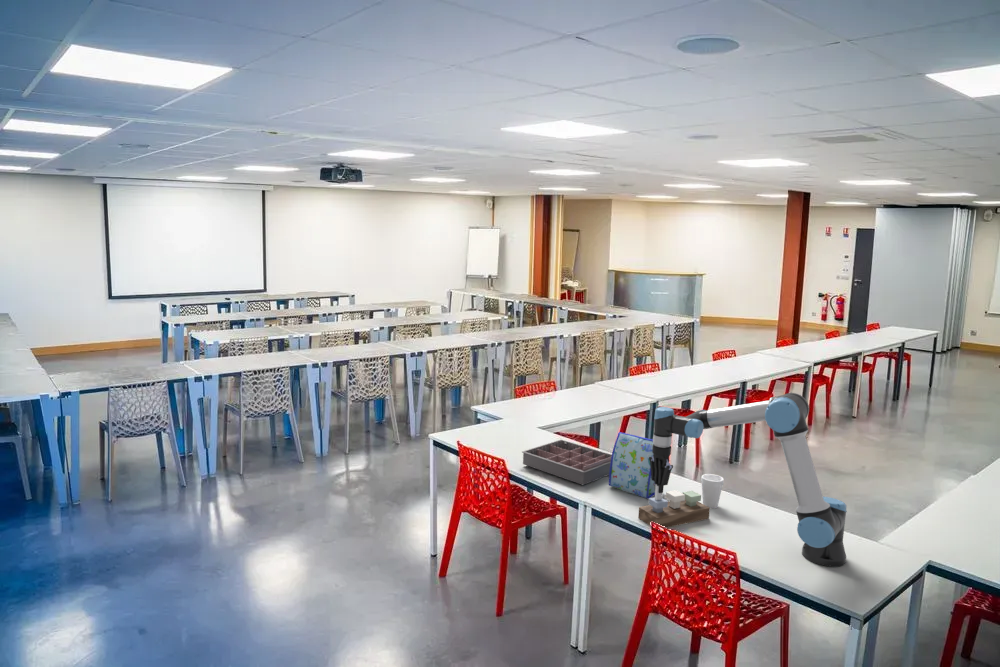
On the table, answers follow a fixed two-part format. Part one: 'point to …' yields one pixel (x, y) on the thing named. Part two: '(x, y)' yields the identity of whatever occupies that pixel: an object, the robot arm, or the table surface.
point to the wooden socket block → (674, 514)
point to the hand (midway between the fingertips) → (658, 499)
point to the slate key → (658, 504)
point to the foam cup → (711, 489)
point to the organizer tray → (569, 461)
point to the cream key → (675, 498)
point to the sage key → (691, 498)
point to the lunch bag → (632, 465)
